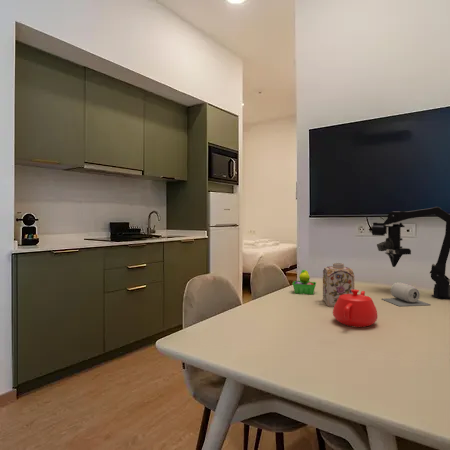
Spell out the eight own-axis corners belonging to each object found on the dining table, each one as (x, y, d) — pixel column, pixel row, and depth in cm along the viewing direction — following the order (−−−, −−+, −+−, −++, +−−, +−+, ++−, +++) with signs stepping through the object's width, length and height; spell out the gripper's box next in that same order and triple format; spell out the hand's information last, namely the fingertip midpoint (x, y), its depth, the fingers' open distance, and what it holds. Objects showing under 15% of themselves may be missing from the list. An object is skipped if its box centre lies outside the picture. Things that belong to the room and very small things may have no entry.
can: (402, 298, 168) (420, 304, 157) (388, 296, 167) (405, 302, 155) (405, 282, 168) (422, 288, 157) (390, 280, 167) (407, 285, 155)
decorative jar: (348, 300, 163) (348, 261, 163) (355, 307, 152) (355, 265, 151) (321, 299, 165) (322, 261, 164) (326, 306, 153) (326, 265, 153)
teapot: (369, 335, 116) (370, 299, 116) (323, 327, 125) (323, 293, 124) (384, 317, 137) (385, 286, 136) (343, 311, 145) (344, 281, 145)
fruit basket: (292, 293, 178) (292, 271, 177) (294, 290, 186) (294, 268, 186) (315, 295, 174) (315, 272, 174) (316, 291, 183) (316, 269, 182)
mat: (411, 298, 167) (411, 297, 167) (430, 305, 155) (430, 304, 155) (381, 299, 165) (381, 298, 165) (398, 306, 153) (398, 305, 153)
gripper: (369, 235, 188) (369, 264, 188) (390, 237, 169) (390, 270, 169) (388, 235, 189) (388, 264, 189) (411, 237, 171) (411, 269, 171)
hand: (393, 266), depth 180 cm, fingers closed
